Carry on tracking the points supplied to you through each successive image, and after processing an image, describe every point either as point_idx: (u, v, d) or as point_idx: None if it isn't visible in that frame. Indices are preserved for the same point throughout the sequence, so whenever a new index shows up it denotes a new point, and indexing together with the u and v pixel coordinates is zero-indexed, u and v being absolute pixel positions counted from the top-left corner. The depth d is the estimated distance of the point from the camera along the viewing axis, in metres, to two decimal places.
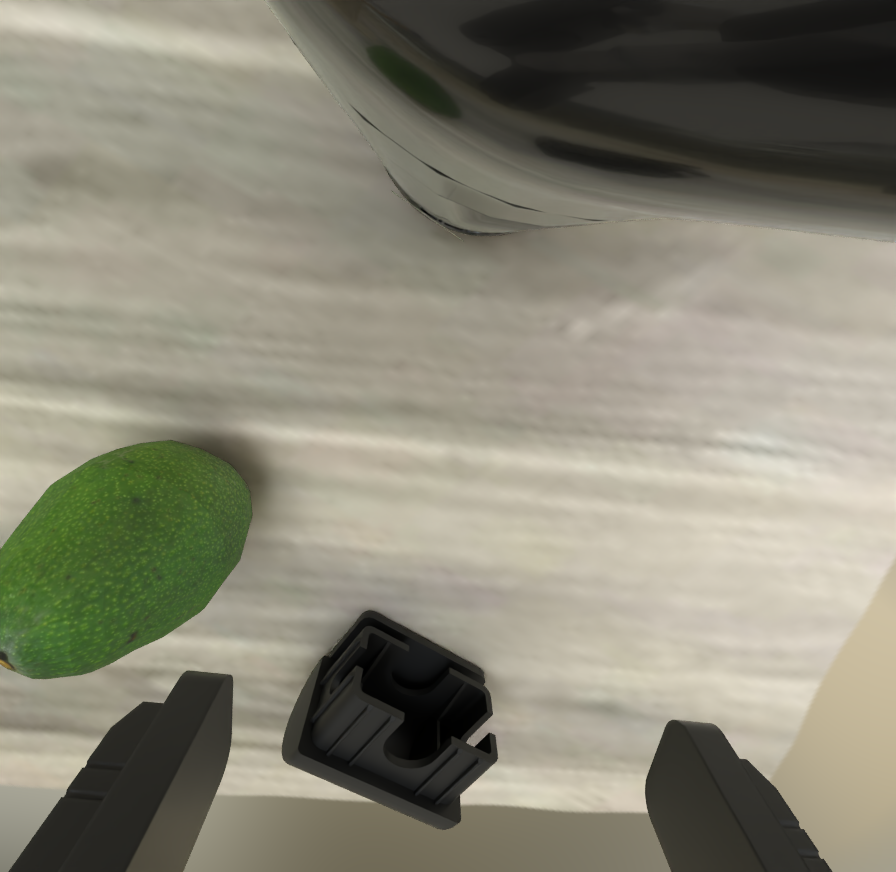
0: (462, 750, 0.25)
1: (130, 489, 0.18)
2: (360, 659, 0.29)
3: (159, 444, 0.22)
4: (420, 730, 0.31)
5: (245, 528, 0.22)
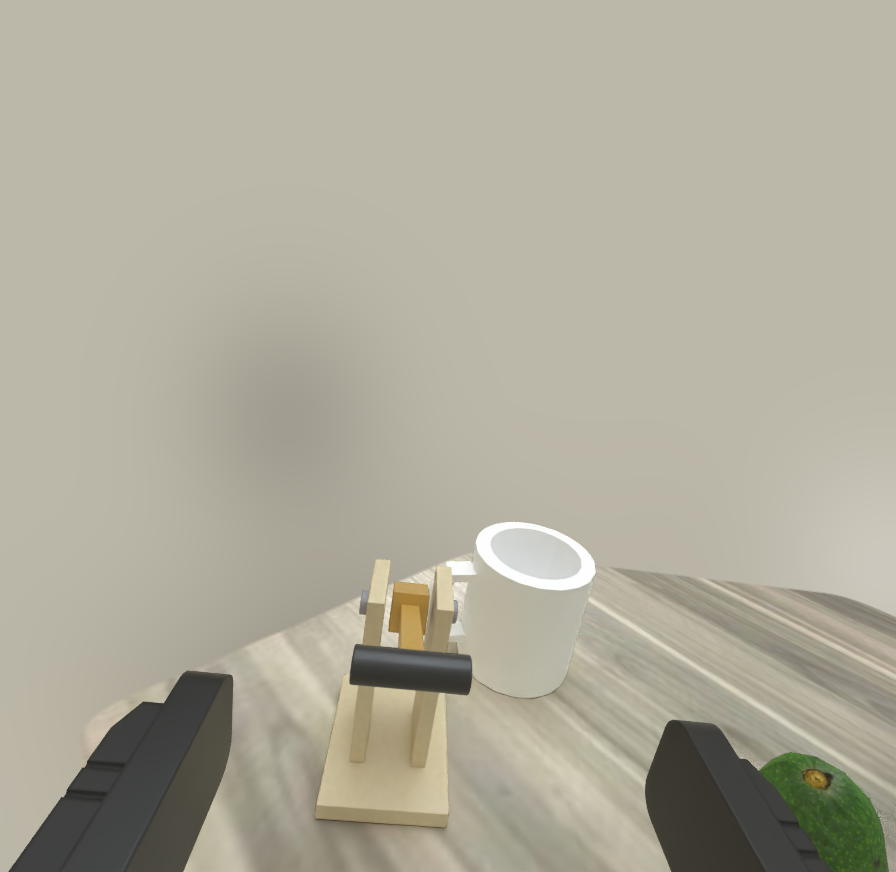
0: None
1: None
2: None
3: None
4: None
5: None
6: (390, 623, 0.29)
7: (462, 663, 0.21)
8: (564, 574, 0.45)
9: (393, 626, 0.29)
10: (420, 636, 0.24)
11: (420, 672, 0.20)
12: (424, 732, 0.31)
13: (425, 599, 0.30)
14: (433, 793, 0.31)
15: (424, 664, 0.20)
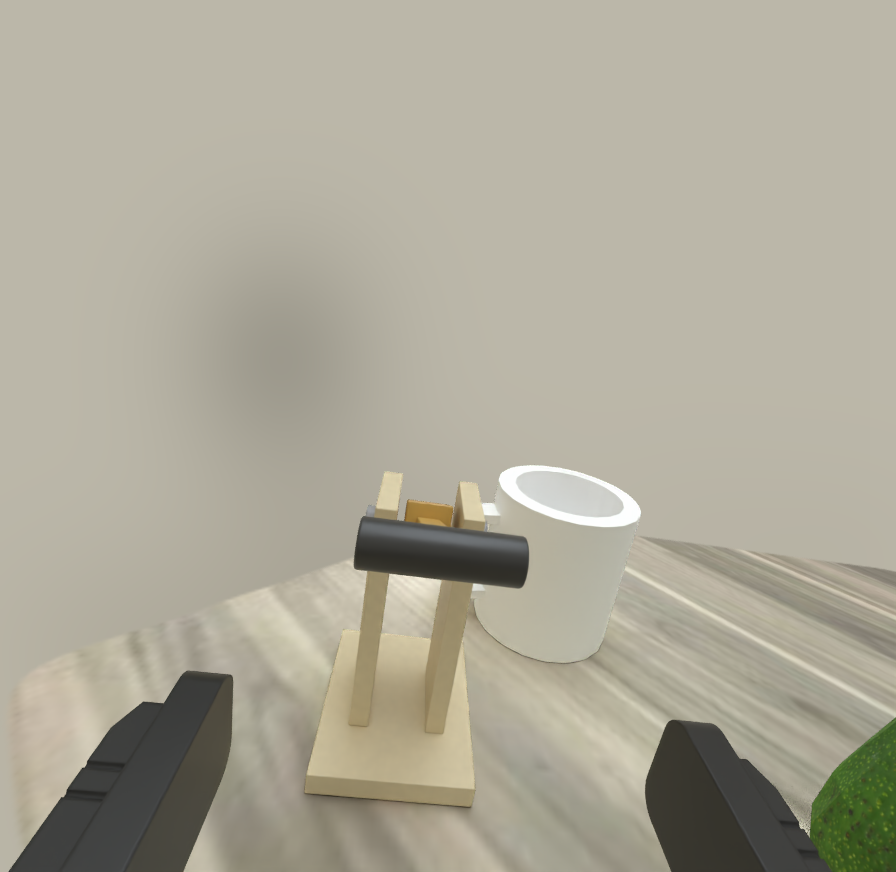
0: None
1: None
2: None
3: None
4: None
5: None
6: None
7: (514, 542, 0.15)
8: None
9: None
10: None
11: (456, 549, 0.14)
12: (443, 686, 0.25)
13: (447, 511, 0.23)
14: (454, 764, 0.25)
15: (461, 540, 0.14)
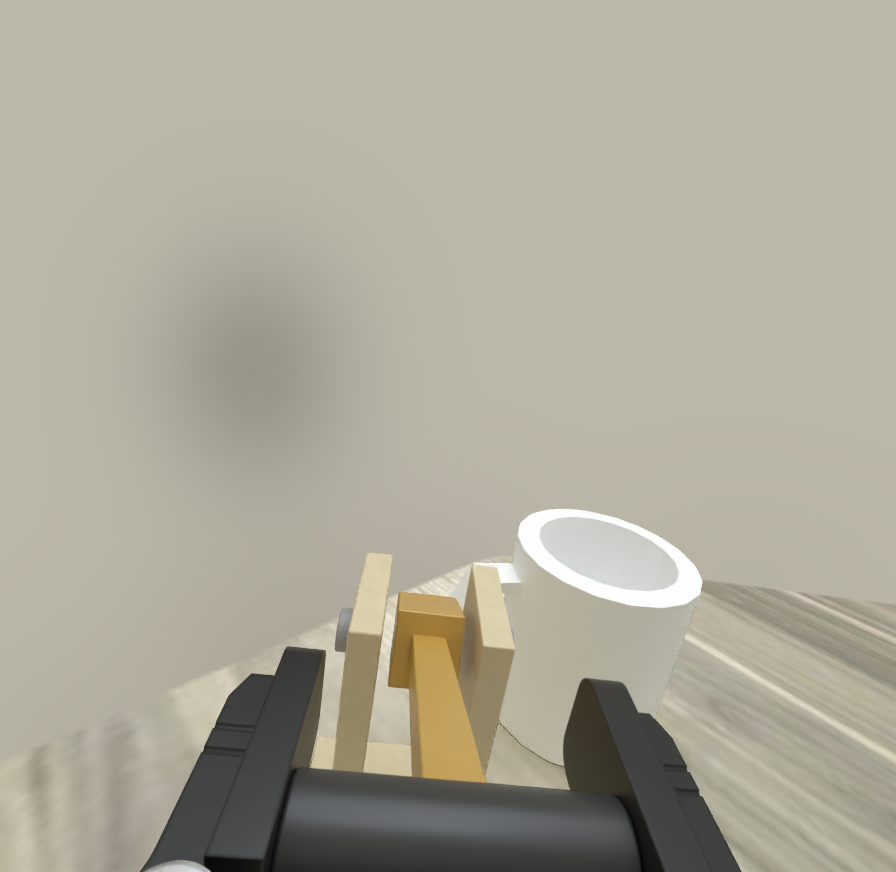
0: None
1: None
2: None
3: None
4: None
5: None
6: (392, 671, 0.16)
7: (609, 835, 0.07)
8: (642, 583, 0.31)
9: (397, 676, 0.16)
10: (464, 719, 0.10)
11: (489, 871, 0.07)
12: None
13: (456, 625, 0.16)
14: None
15: (499, 842, 0.07)
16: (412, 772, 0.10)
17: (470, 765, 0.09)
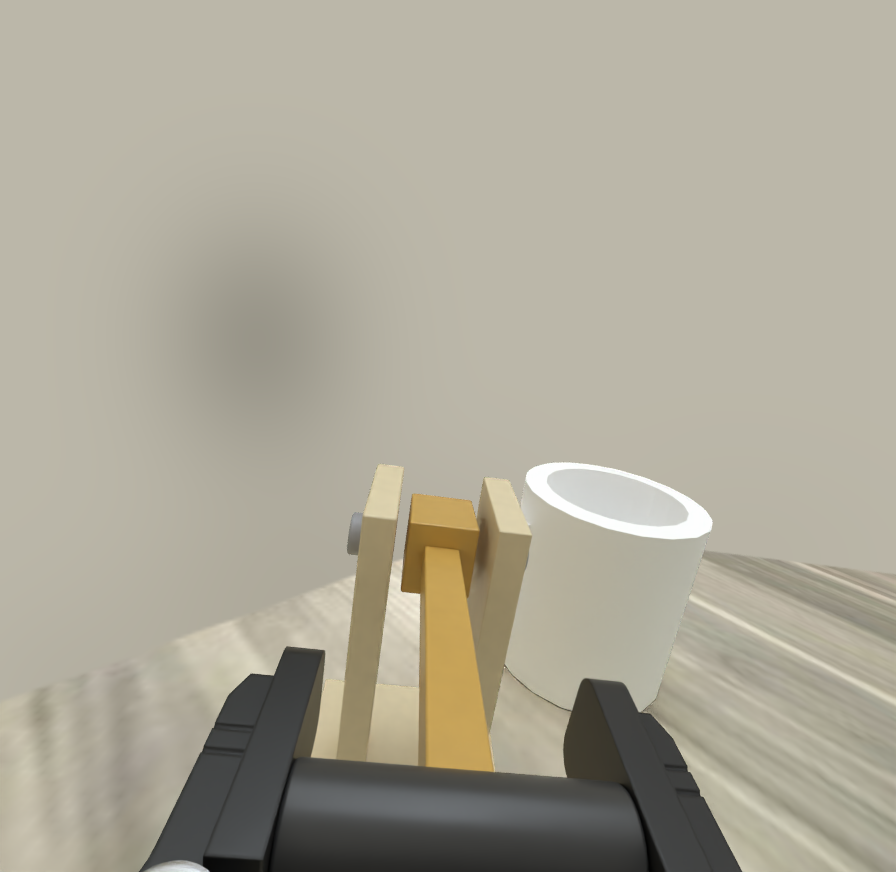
0: None
1: None
2: None
3: None
4: None
5: None
6: (404, 578, 0.16)
7: (618, 845, 0.07)
8: None
9: (410, 583, 0.16)
10: (473, 671, 0.10)
11: None
12: None
13: (470, 537, 0.15)
14: None
15: (502, 852, 0.07)
16: (419, 722, 0.09)
17: (477, 739, 0.08)
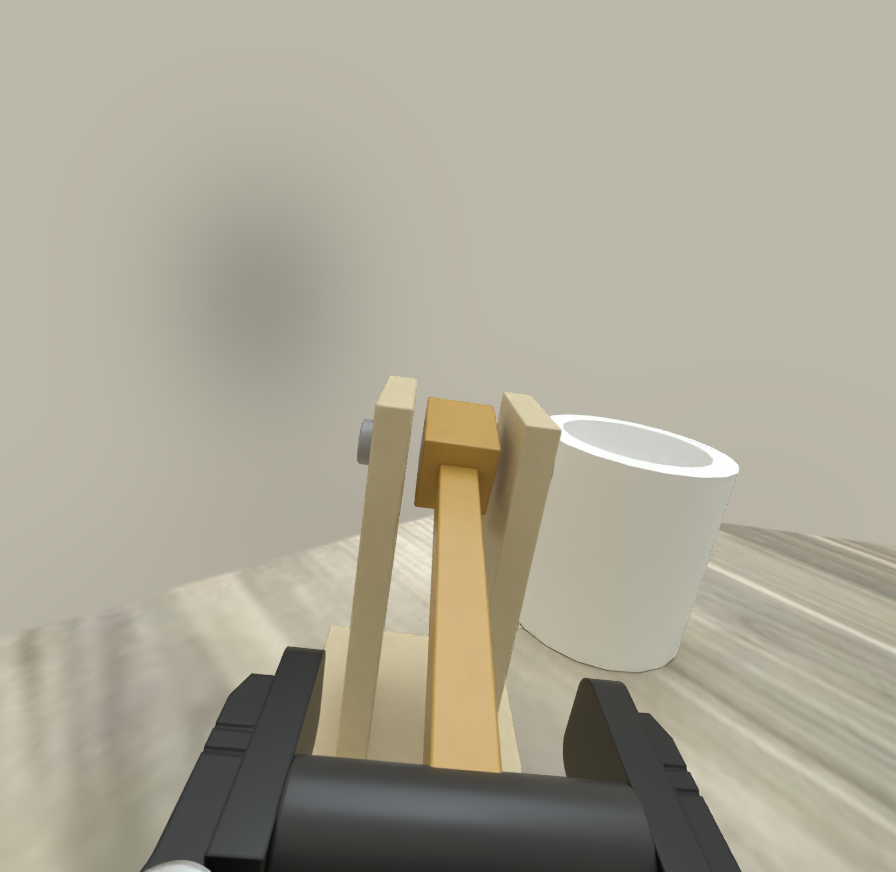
0: None
1: None
2: None
3: None
4: None
5: None
6: (418, 493, 0.15)
7: (628, 871, 0.06)
8: None
9: (424, 498, 0.15)
10: (485, 637, 0.09)
11: None
12: None
13: (490, 457, 0.14)
14: None
15: None
16: (426, 686, 0.09)
17: (485, 730, 0.08)
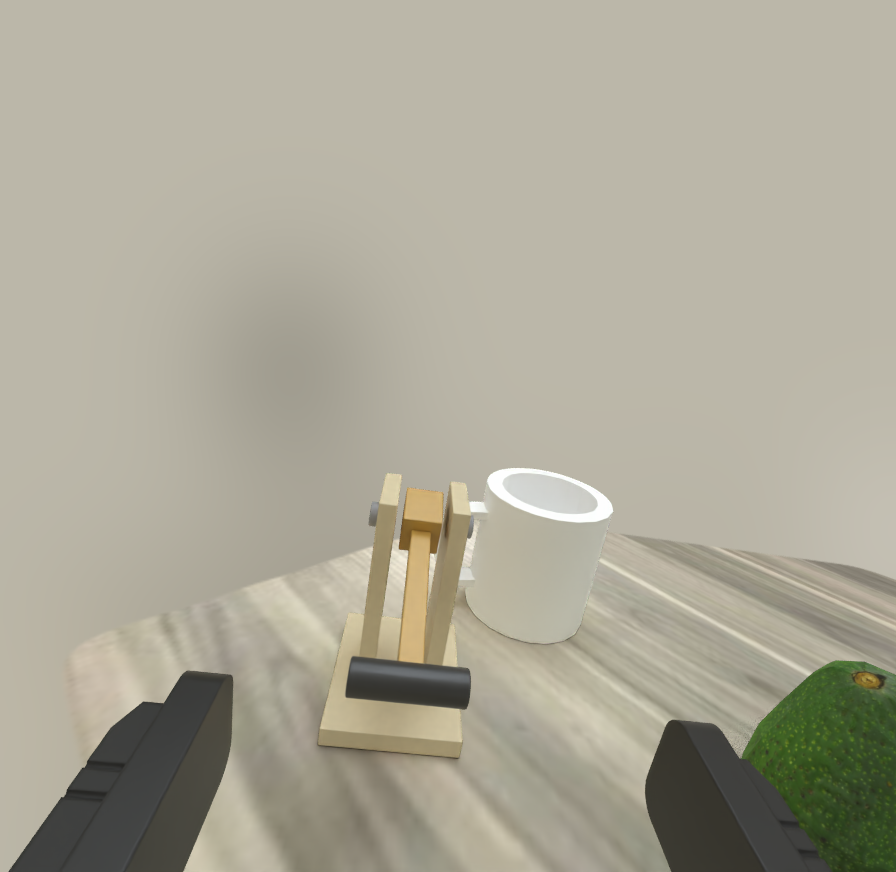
0: None
1: None
2: None
3: None
4: None
5: None
6: (400, 543, 0.28)
7: (460, 691, 0.20)
8: None
9: (403, 545, 0.28)
10: (423, 617, 0.23)
11: (416, 698, 0.20)
12: (436, 657, 0.29)
13: (437, 526, 0.27)
14: (444, 722, 0.29)
15: (420, 690, 0.20)
16: None
17: (419, 650, 0.21)
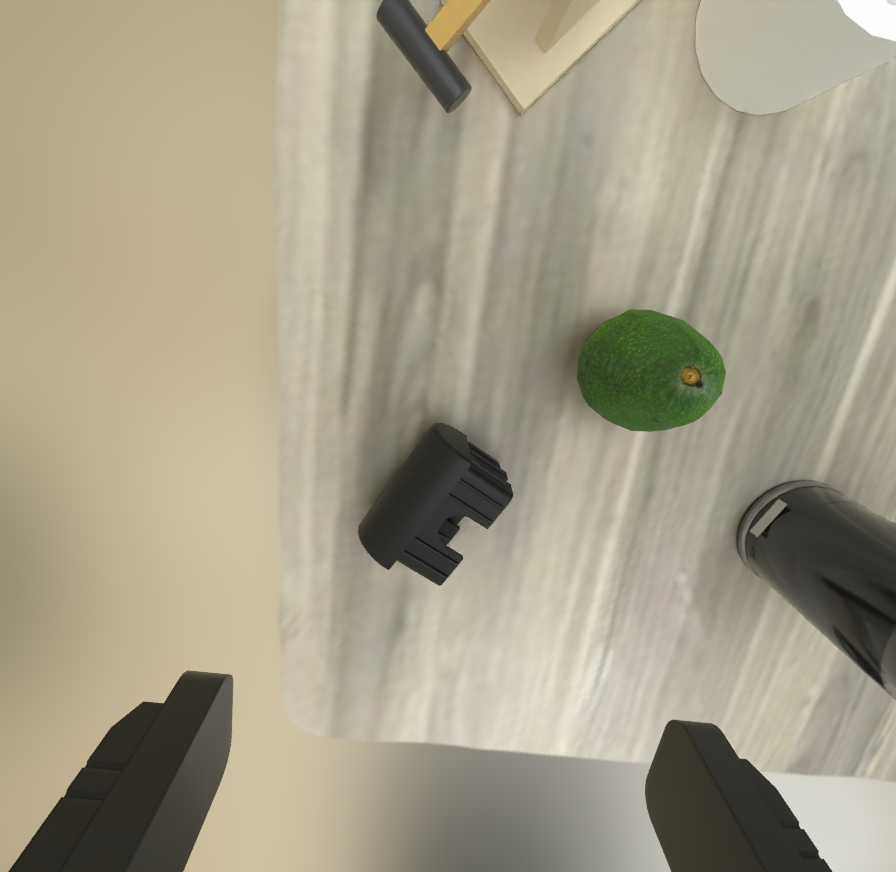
0: (455, 565, 0.36)
1: None
2: None
3: None
4: None
5: None
6: None
7: (444, 99, 0.23)
8: None
9: None
10: (476, 3, 0.22)
11: None
12: (551, 22, 0.27)
13: None
14: (529, 81, 0.31)
15: (421, 71, 0.23)
16: None
17: (446, 35, 0.22)
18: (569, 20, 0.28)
